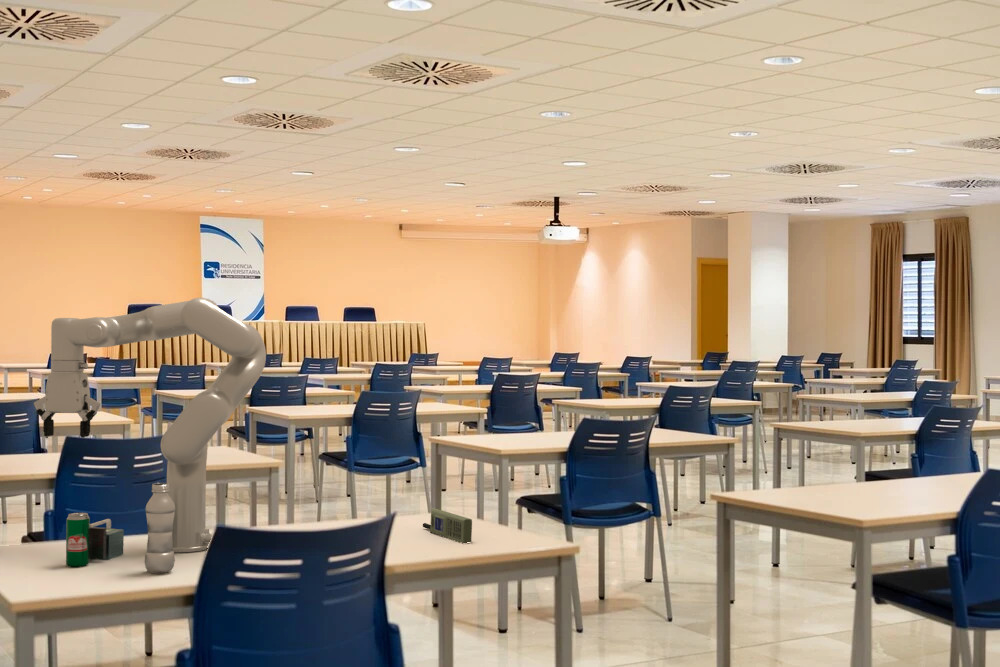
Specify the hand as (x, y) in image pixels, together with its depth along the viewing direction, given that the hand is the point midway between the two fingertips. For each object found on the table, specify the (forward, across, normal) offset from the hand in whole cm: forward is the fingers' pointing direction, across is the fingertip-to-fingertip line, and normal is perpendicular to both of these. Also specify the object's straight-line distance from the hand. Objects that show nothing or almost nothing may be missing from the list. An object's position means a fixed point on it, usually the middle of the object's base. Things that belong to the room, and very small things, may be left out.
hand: (66, 436), depth 277 cm
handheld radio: (+29, -88, -39) cm, 100 cm away
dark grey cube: (+28, -13, +6) cm, 32 cm away
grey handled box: (+27, -13, +7) cm, 31 cm away
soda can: (+28, -13, +17) cm, 36 cm away
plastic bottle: (+28, -35, +20) cm, 49 cm away
